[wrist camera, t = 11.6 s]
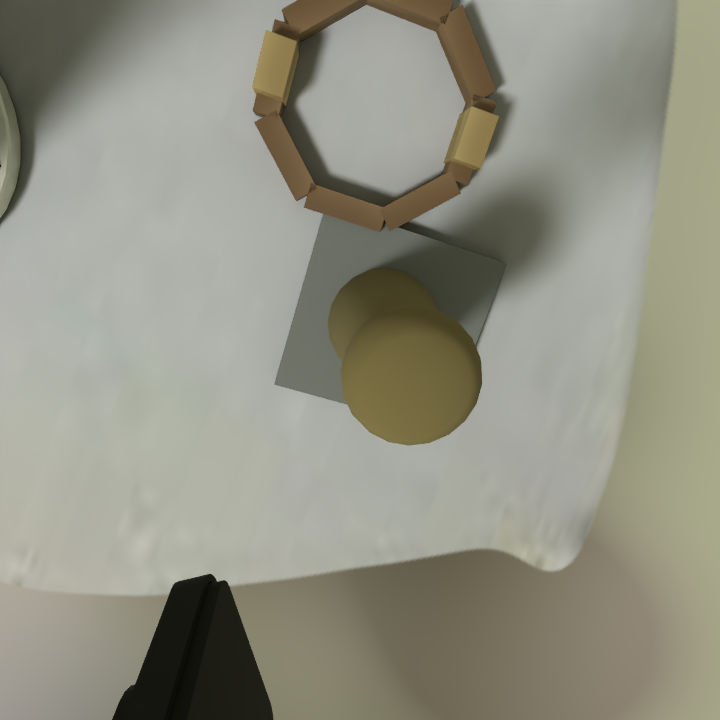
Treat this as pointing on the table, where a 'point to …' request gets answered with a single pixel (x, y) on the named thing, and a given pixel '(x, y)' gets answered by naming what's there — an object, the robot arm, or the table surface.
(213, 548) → the table surface
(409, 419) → the cork
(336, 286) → the pad
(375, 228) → the collar
